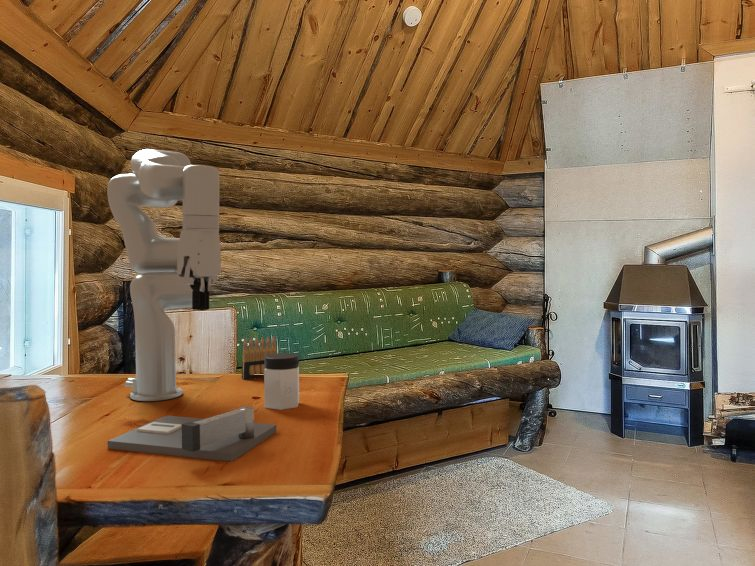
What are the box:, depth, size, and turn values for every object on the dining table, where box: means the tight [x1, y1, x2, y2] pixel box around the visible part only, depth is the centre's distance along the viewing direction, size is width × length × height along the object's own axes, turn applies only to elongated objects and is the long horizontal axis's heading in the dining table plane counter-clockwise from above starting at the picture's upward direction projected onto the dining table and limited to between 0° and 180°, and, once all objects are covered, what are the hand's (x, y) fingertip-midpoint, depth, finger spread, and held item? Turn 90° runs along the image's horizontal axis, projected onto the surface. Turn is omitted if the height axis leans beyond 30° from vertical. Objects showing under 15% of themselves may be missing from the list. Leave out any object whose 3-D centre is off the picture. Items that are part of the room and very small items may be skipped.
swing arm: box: [182, 406, 255, 452], centre depth 109 cm, size 15×3×5 cm, turn 147°
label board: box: [107, 415, 277, 462], centre depth 118 cm, size 26×18×2 cm
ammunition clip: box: [241, 335, 278, 381], centre depth 176 cm, size 11×2×12 cm, turn 123°
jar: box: [263, 352, 300, 411], centre depth 144 cm, size 9×8×12 cm
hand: (200, 309), depth 130 cm, fingers closed
